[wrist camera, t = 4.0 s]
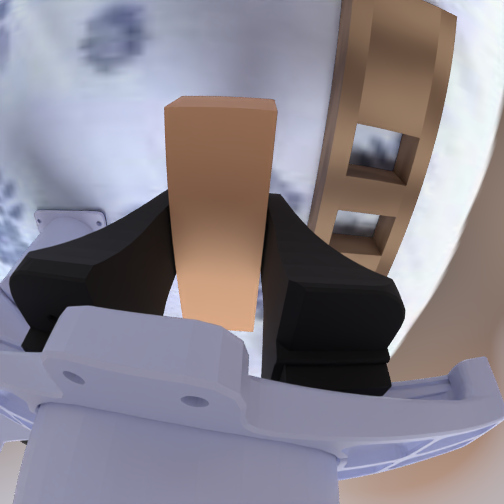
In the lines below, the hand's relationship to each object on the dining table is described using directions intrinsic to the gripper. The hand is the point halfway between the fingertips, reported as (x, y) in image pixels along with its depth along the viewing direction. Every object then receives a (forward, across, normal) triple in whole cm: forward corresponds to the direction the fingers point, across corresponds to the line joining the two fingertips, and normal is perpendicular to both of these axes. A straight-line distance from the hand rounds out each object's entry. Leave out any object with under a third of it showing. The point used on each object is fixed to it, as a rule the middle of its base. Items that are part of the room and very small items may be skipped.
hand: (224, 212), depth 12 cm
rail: (+10, -9, +2) cm, 13 cm away
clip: (+3, 0, 0) cm, 3 cm away
